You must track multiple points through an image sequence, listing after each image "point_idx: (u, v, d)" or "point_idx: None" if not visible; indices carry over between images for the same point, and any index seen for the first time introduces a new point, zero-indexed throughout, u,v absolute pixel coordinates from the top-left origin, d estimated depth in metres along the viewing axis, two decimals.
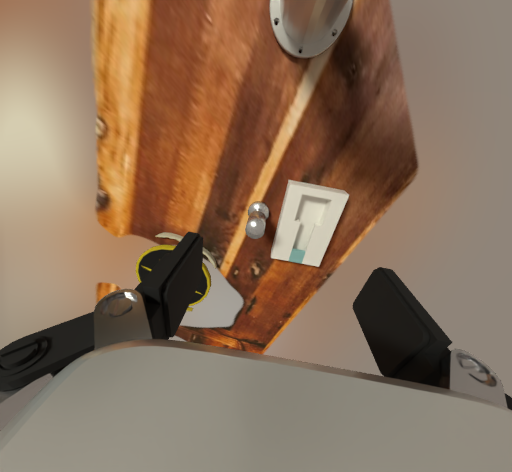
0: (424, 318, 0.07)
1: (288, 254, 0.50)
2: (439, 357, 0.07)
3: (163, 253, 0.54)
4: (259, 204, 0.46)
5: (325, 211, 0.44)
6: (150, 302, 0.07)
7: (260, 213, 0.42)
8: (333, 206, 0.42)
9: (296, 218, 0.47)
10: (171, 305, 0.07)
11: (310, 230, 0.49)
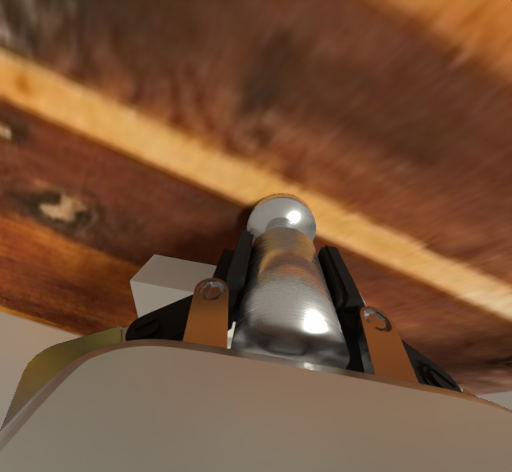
0: (346, 282, 0.08)
1: None
2: (356, 314, 0.08)
3: None
4: (310, 235, 0.14)
5: None
6: (229, 290, 0.08)
7: None
8: None
9: None
10: (241, 293, 0.08)
11: None
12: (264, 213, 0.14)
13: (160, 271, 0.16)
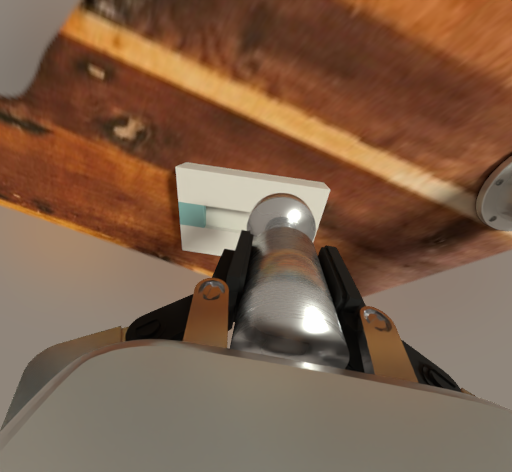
0: (346, 282, 0.08)
1: (192, 200, 0.26)
2: (356, 315, 0.08)
3: None
4: (310, 235, 0.14)
5: None
6: (229, 289, 0.08)
7: None
8: None
9: None
10: None
11: (241, 225, 0.31)
12: (264, 213, 0.14)
13: (192, 166, 0.26)
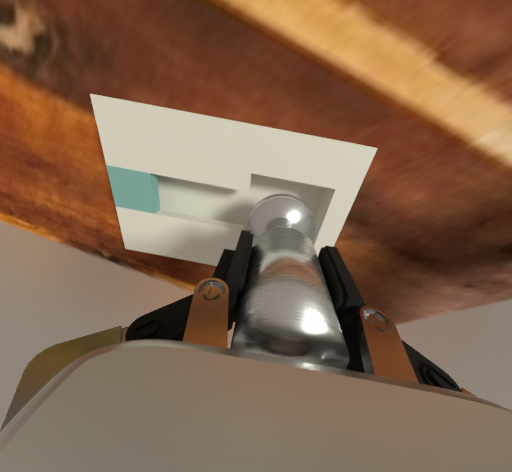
0: (346, 282, 0.08)
1: (130, 163, 0.15)
2: (356, 314, 0.08)
3: None
4: (310, 235, 0.14)
5: None
6: (229, 290, 0.08)
7: None
8: None
9: None
10: (242, 293, 0.08)
11: (219, 214, 0.19)
12: (264, 213, 0.14)
13: None
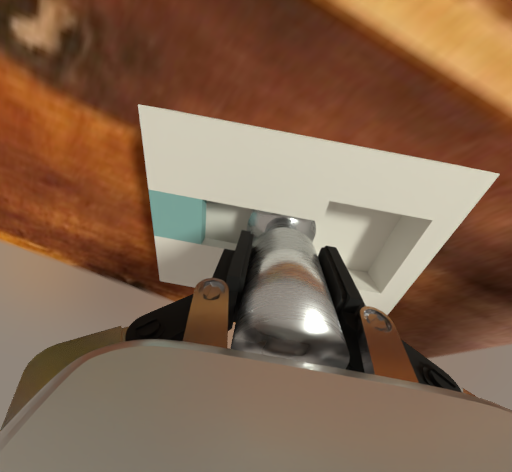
0: (346, 282, 0.08)
1: (179, 188, 0.12)
2: (356, 314, 0.08)
3: None
4: (310, 235, 0.14)
5: None
6: (229, 289, 0.08)
7: None
8: None
9: None
10: None
11: None
12: (264, 213, 0.14)
13: None
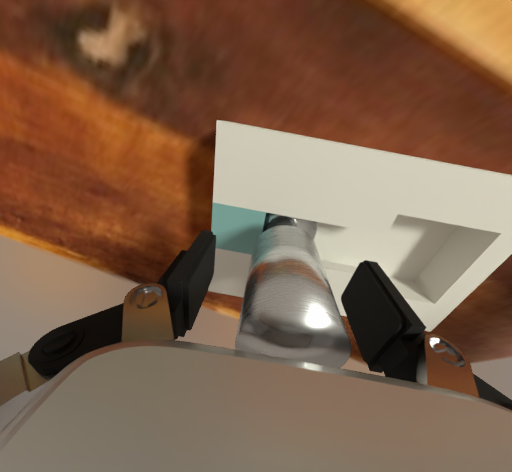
0: (402, 306, 0.07)
1: (244, 201, 0.12)
2: (415, 342, 0.07)
3: None
4: (311, 234, 0.15)
5: None
6: (172, 296, 0.07)
7: None
8: None
9: None
10: (190, 299, 0.08)
11: (318, 250, 0.17)
12: (266, 212, 0.14)
13: None
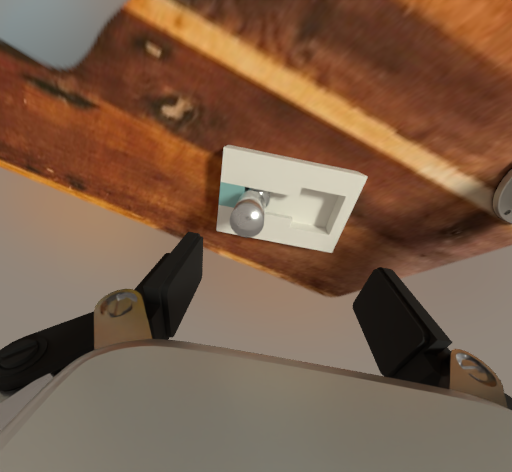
0: (424, 318, 0.07)
1: (235, 181, 0.28)
2: (439, 357, 0.07)
3: None
4: (267, 199, 0.30)
5: (308, 228, 0.32)
6: (150, 302, 0.07)
7: None
8: (319, 238, 0.31)
9: None
10: (171, 305, 0.07)
11: (273, 210, 0.32)
12: (245, 187, 0.29)
13: (237, 148, 0.27)
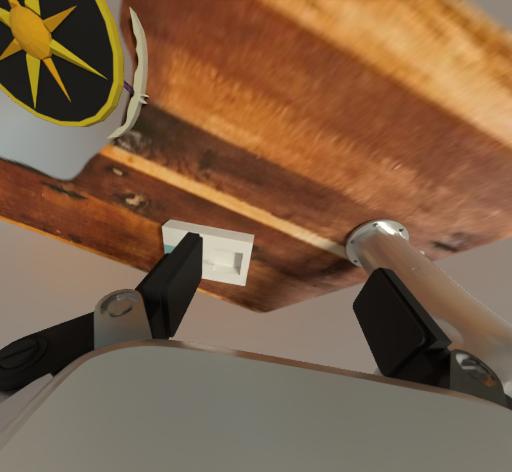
0: (424, 318, 0.07)
1: (172, 244, 0.43)
2: (439, 357, 0.07)
3: (96, 23, 0.26)
4: None
5: (227, 269, 0.47)
6: (150, 302, 0.07)
7: None
8: (233, 277, 0.47)
9: None
10: (171, 305, 0.07)
11: (204, 257, 0.48)
12: None
13: (172, 224, 0.43)
